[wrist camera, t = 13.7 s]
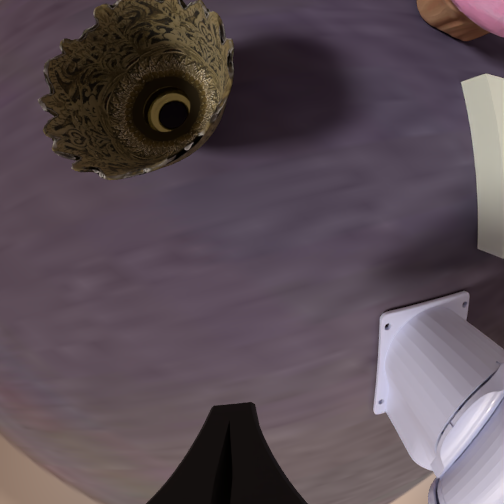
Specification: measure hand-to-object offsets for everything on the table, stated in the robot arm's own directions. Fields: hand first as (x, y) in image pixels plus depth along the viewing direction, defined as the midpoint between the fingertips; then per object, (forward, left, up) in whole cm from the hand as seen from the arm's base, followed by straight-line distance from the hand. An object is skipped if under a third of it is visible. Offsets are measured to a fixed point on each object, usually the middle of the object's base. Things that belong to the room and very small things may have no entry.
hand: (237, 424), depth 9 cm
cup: (+12, +2, -10) cm, 16 cm away
